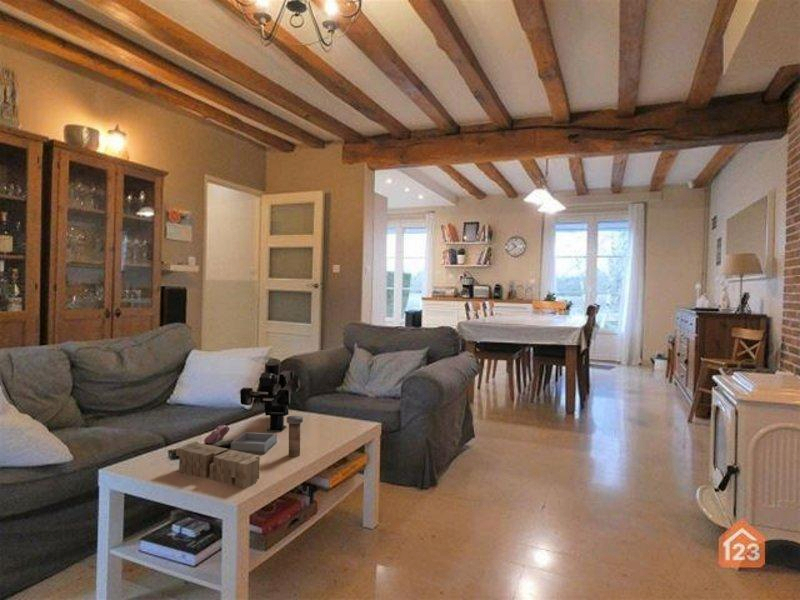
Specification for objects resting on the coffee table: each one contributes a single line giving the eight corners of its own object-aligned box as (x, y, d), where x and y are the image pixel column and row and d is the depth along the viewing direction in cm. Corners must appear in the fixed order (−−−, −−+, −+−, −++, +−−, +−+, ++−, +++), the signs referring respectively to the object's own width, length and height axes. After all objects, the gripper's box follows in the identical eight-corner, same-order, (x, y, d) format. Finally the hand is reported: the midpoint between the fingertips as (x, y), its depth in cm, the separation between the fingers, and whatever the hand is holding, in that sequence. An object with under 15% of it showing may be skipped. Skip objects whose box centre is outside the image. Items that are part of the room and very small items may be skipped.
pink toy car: (211, 448, 182) (219, 433, 181) (202, 442, 182) (209, 426, 181) (226, 440, 191) (233, 425, 190) (216, 434, 192) (224, 419, 191)
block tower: (262, 483, 150) (195, 463, 162) (264, 456, 150) (195, 439, 162) (244, 492, 143) (175, 471, 155) (245, 464, 143) (176, 445, 155)
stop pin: (289, 451, 175) (289, 415, 175) (304, 452, 175) (304, 415, 174) (284, 457, 170) (284, 419, 169) (299, 458, 169) (300, 419, 169)
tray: (245, 441, 186) (245, 432, 186) (276, 442, 185) (277, 433, 185) (230, 452, 174) (230, 442, 174) (264, 454, 172) (264, 444, 172)
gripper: (246, 370, 191) (232, 382, 176) (293, 371, 191) (283, 383, 176) (247, 397, 193) (233, 411, 177) (294, 398, 193) (284, 412, 177)
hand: (258, 404), depth 177 cm, fingers open, 9 cm apart
